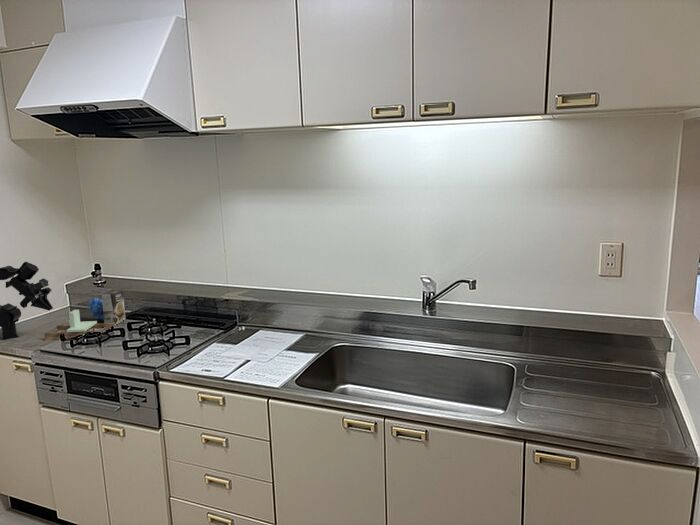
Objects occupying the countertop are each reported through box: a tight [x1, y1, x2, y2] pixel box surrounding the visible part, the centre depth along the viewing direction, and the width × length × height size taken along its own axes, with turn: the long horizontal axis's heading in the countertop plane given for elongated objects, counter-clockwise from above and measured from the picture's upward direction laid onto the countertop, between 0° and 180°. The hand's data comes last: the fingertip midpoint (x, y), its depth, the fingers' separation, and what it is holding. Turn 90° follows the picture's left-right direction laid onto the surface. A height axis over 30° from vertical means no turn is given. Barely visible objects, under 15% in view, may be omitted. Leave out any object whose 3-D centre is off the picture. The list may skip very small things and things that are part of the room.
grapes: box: [88, 296, 104, 321], centre depth 263 cm, size 12×7×12 cm, turn 80°
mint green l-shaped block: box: [67, 309, 98, 332], centre depth 241 cm, size 8×14×8 cm, turn 5°
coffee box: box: [101, 289, 126, 326], centre depth 258 cm, size 9×6×16 cm
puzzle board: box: [43, 322, 116, 341], centre depth 241 cm, size 26×16×3 cm, turn 95°
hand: (51, 309), depth 239 cm, fingers closed
